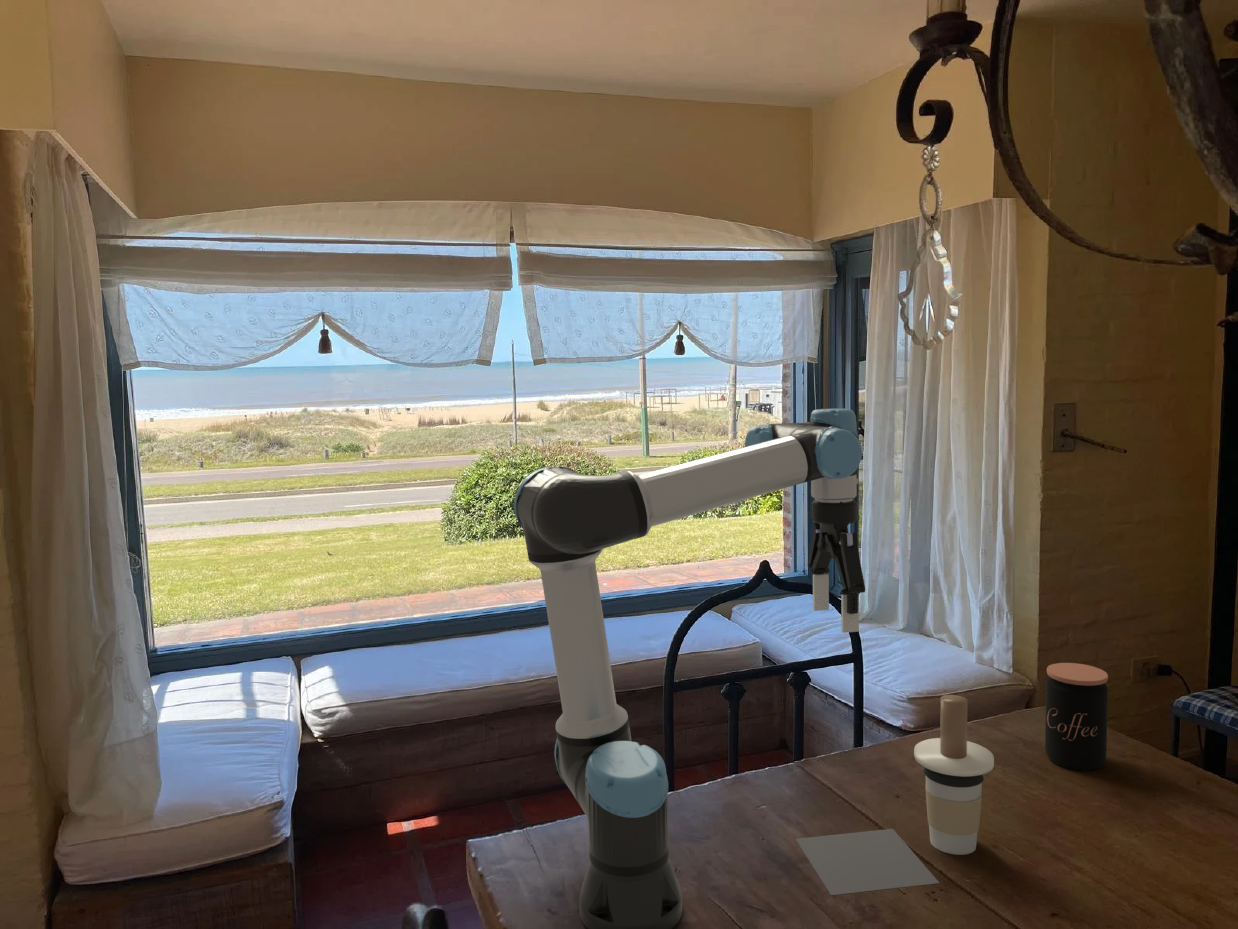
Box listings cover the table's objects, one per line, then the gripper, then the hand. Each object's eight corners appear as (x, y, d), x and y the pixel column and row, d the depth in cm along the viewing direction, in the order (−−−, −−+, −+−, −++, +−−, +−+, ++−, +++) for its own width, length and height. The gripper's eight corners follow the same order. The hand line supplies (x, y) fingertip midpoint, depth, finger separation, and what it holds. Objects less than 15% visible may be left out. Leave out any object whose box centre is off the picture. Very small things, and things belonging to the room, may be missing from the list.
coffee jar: (1035, 760, 172) (1037, 672, 170) (1057, 744, 179) (1059, 658, 177) (1094, 778, 164) (1096, 685, 162) (1114, 759, 171) (1116, 670, 170)
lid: (936, 779, 134) (936, 716, 133) (901, 747, 146) (901, 689, 145) (1009, 772, 135) (1010, 710, 134) (968, 741, 147) (969, 683, 146)
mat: (831, 900, 129) (831, 895, 129) (795, 843, 145) (795, 838, 145) (939, 888, 131) (939, 883, 131) (892, 833, 147) (892, 828, 147)
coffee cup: (988, 865, 137) (989, 773, 135) (927, 860, 139) (928, 770, 137) (976, 835, 146) (977, 749, 144) (919, 831, 147) (920, 746, 146)
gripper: (886, 508, 137) (886, 640, 140) (828, 488, 162) (829, 600, 164) (840, 511, 137) (841, 643, 139) (789, 490, 161) (790, 603, 163)
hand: (834, 620), depth 151 cm, fingers open, 13 cm apart
